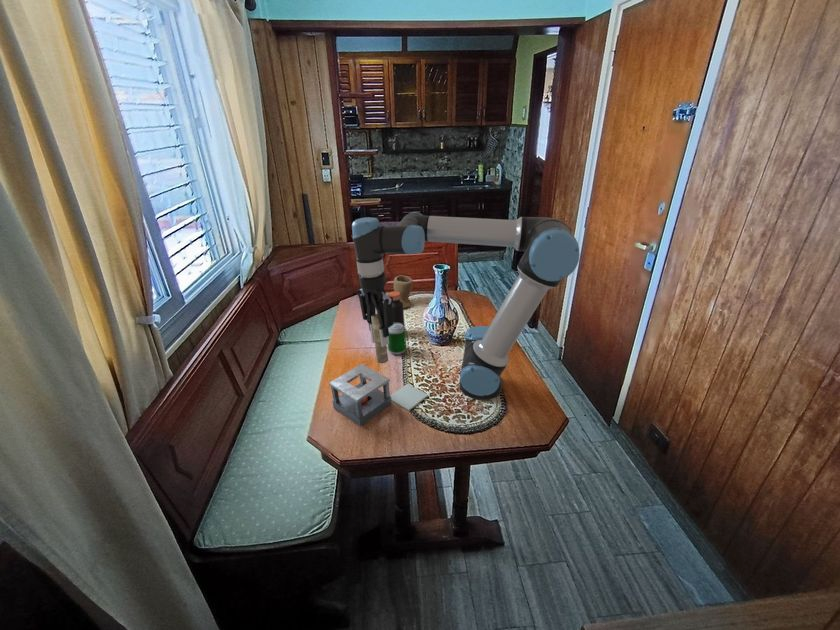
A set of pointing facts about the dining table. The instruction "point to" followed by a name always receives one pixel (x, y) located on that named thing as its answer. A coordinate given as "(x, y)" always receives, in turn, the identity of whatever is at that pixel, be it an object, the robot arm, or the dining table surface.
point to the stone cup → (403, 289)
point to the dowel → (378, 341)
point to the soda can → (397, 339)
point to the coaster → (408, 397)
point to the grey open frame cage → (361, 394)
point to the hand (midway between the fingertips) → (380, 342)
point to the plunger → (364, 400)
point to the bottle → (397, 308)
